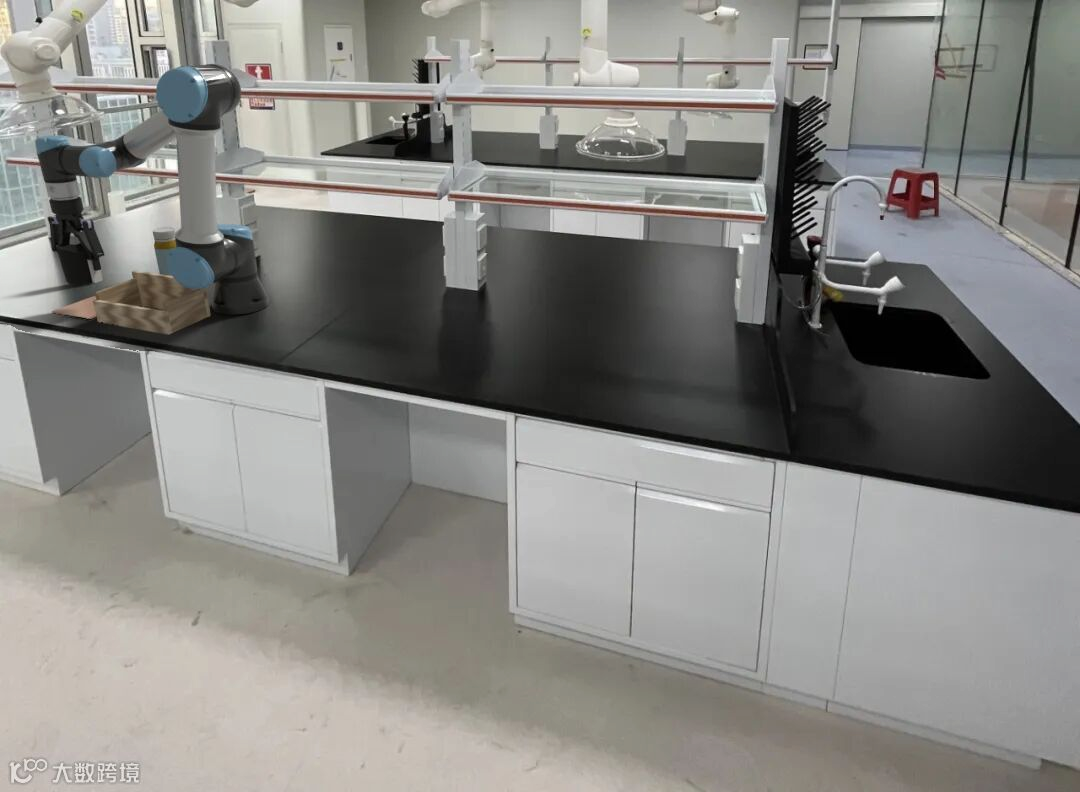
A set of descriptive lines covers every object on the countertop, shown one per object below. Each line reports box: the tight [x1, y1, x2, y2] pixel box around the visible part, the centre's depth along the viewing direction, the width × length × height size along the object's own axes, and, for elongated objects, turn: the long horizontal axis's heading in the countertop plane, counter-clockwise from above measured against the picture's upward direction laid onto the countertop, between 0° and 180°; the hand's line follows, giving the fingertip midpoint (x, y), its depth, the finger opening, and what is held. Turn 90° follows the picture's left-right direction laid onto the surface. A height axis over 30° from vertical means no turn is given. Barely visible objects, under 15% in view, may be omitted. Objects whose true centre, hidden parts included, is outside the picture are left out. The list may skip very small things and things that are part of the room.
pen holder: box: [56, 243, 93, 286], centre depth 220 cm, size 9×9×10 cm
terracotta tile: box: [51, 295, 97, 320], centre depth 226 cm, size 14×14×1 cm
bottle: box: [152, 226, 176, 276], centre depth 250 cm, size 7×7×15 cm
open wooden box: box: [93, 270, 212, 335], centre depth 217 cm, size 24×15×10 cm, turn 69°
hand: (84, 279), depth 222 cm, fingers closed on pen holder, 9 cm apart
